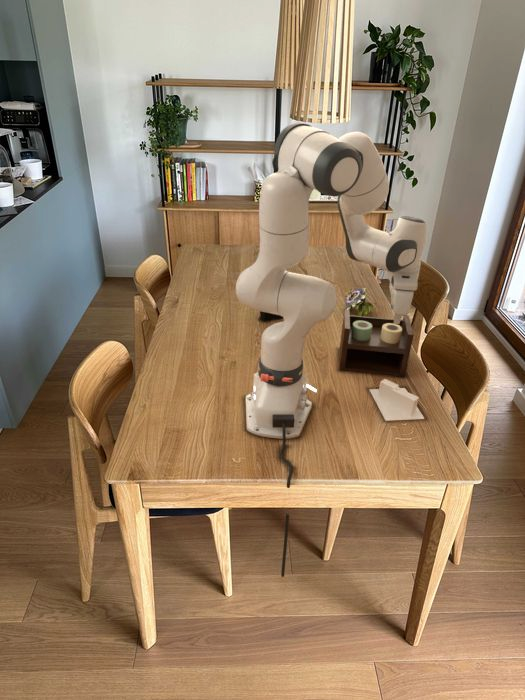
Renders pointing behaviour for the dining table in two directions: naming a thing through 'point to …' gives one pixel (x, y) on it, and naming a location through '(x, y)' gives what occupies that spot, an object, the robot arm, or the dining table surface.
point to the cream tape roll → (391, 333)
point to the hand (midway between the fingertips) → (394, 315)
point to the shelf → (374, 348)
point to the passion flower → (358, 301)
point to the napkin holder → (396, 402)
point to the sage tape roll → (361, 330)
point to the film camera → (269, 316)
